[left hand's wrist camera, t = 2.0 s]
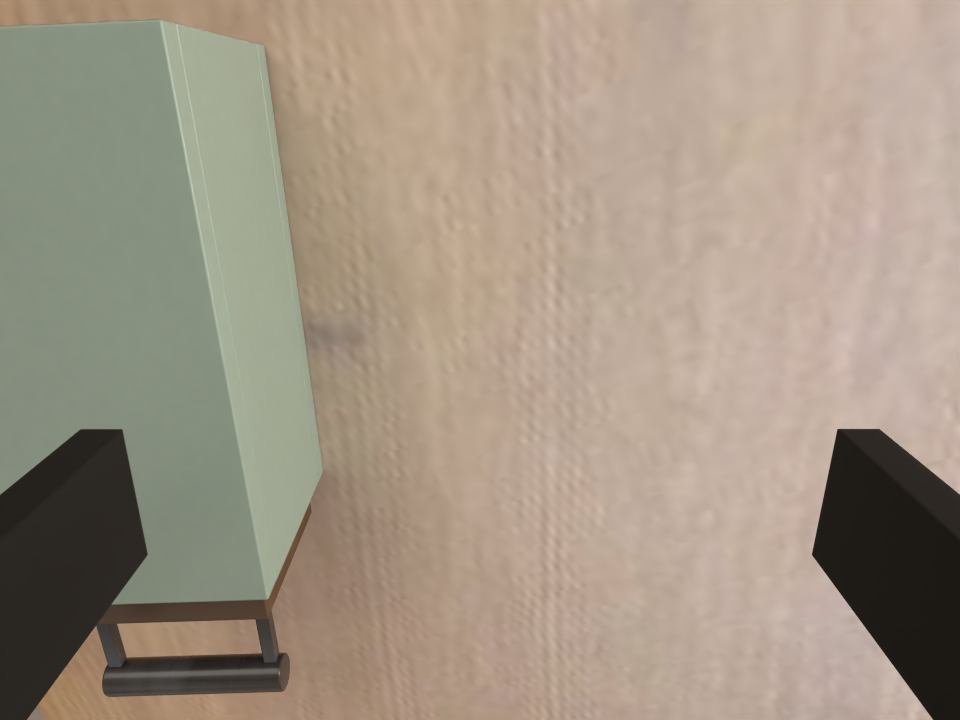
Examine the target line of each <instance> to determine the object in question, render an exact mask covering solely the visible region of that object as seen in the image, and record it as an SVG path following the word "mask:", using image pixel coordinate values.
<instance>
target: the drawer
mask: <svg viewBox="0 0 960 720" xmlns="http://www.w3.org/2000/svg"><path fill="white" fill-rule="evenodd" d="M310 514H311V505H310V503H309V505H308V508H307V510H306V512H305V515H304V517H303V519H302V522H301V524H300V526H299V529H298V531H297V533H296V536H295V538H294V540H293V543H292V545H291V547H290V550H289V552H288V554H287V557H286V559H285V562H284V564H283V566H282V569H281V571H280V573H279V576H278V578H277V580H276V582H275V585H274V587H273V589H272V592H271V594H270V596H269V599H267V600H242V601H211V602H179V603H148V604H117V605H111V606H110V607H109V608H108V610H107V611H106V613H105V614H104V615H103V617H102V618H101V619H100V621H99V622H98V623H97V625H96V626H97V629H98V633H99V636H100V639H101V643H102V646H103V649H104V653H105V656H106V659H107V663H108V665H107V667H106V669H105V671H104V675H103V681H102V687H103V692H104V694H105V695H106V696H108V697H121V696H154V695H188V694H222V693H255V692H282V691H284V690H285V689H286V686H287V684H288V680H289V673H290V661H289V657H288V654H287V653H279V648H278V643H277V638H276V632H275V627H274V621H273V616H272V610H271V609H272V607H273V604H274V602H275V599H276V597H277V595H278V592H279V590H280V587H281V585H282V582H283V580H284V578H285V575H286V573H287V570H288V568H289V565H290V563H291V561H292V558H293V556H294V553H295V551H296V548H297V546H298V544H299V541H300V539H301V536H302V534H303V531H304V529H305V527H306V524H307V522H308V519H309V517H310ZM246 619H256V624H257V629H258V634H259V640H260V645H261V650H262V653H260V654H228V655H195V656H162V657H130V658H126V654H125V650H124V647H123V643H122V640H121V636H120V633H119V629H118V626H117V624H118V623H150V622H182V621H214V620H246Z"/></svg>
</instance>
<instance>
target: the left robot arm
mask: <svg viewBox="0 0 960 720" xmlns="http://www.w3.org/2000/svg"><path fill="white" fill-rule="evenodd" d="M147 555H148V552H147V548H146V543H145V538H144V533H143V528H142V523H141V518H140V513H139V508H138V503H137V498H136V493H135V489H134V484H133V479H132V474H131V469H130V464H129V459H128V454H127V449H126V444H125V439H124V434H123V430H122V429H80V430H79V431H78V432H77V433H75V434H74V435H73V436H72V437H70V438H69V439H68V440H67V441H65V442H64V443H63V444H62V445H61V446H59V447H58V448H57V449H56V450H54V451H53V452H52V453H51V454H50V455H48V456H47V457H46V458H45V459H43V460H42V461H41V462H40V463H39V464H37V465H36V466H35V467H34V468H32V469H31V470H30V471H29V472H27V473H26V474H25V475H24V476H23V477H21V478H20V479H19V480H18V481H16V482H15V483H14V484H13V485H12V486H10V487H9V488H8V489H7V490H5V491H4V492H3V493H2V494H0V720H27V718H28V717H29V716H30V714H31V713H32V712H33V710H34V709H35V708H36V706H37V705H38V704H39V702H40V701H41V700H42V698H43V697H44V695H45V694H46V693H47V691H48V690H49V689H50V687H51V686H52V685H53V683H54V682H55V680H56V679H57V678H58V676H59V675H60V674H61V672H62V671H63V670H64V668H65V667H66V666H67V664H68V663H69V661H70V660H71V659H72V657H73V656H74V655H75V653H76V652H77V651H78V649H79V648H80V647H81V645H82V644H83V642H84V641H85V640H86V638H87V637H88V636H89V634H90V633H91V632H92V630H93V629H94V627H95V626H96V625H97V623H98V622H99V621H100V619H101V618H102V617H103V615H104V614H105V613H106V611H107V610H108V608H109V607H110V606H111V604H112V603H113V602H114V600H115V599H116V598H117V596H118V595H119V593H120V592H121V591H122V589H123V588H124V587H125V585H126V584H127V583H128V581H129V580H130V579H131V577H132V576H133V574H134V573H135V572H136V570H137V569H138V568H139V566H140V565H141V564H142V562H143V561H144V560H145V558H146V557H147ZM812 555H813V557H814V558H815V560H816V561H817V562H818V564H819V565H820V566H821V568H822V569H823V570H824V572H825V573H826V574H827V576H828V577H829V579H830V580H831V581H832V583H833V584H834V585H835V587H836V588H837V589H838V591H839V592H840V594H841V595H842V596H843V598H844V599H845V600H846V602H847V603H848V604H849V606H850V607H851V608H852V610H853V611H854V613H855V614H856V615H857V617H858V618H859V619H860V621H861V622H862V623H863V625H864V626H865V627H866V629H867V630H868V632H869V633H870V634H871V636H872V637H873V638H874V640H875V641H876V642H877V644H878V645H879V647H880V648H881V649H882V651H883V652H884V653H885V655H886V656H887V657H888V659H889V660H890V661H891V663H892V664H893V666H894V667H895V668H896V670H897V671H898V672H899V674H900V675H901V676H902V678H903V679H904V680H905V682H906V683H907V685H908V686H909V687H910V689H911V690H912V691H913V693H914V694H915V695H916V697H917V698H918V700H919V701H920V702H921V704H922V705H923V706H924V708H925V709H926V710H927V712H928V713H929V714H930V716H931V717H932V719H933V720H960V494H958V493H957V492H956V491H955V490H953V489H952V488H951V487H950V486H948V485H947V484H946V483H945V482H944V481H942V480H941V479H940V478H939V477H937V476H936V475H935V474H934V473H933V472H931V471H930V470H929V469H928V468H926V467H925V466H924V465H923V464H921V463H920V462H919V461H918V460H917V459H915V458H914V457H913V456H912V455H910V454H909V453H908V452H907V451H906V450H904V449H903V448H902V447H901V446H899V445H898V444H897V443H896V442H895V441H893V440H892V439H891V438H890V437H888V436H887V435H886V434H885V433H883V432H882V431H881V430H880V429H838V430H837V434H836V439H835V444H834V449H833V454H832V459H831V464H830V469H829V474H828V479H827V484H826V489H825V493H824V498H823V503H822V508H821V513H820V518H819V523H818V528H817V533H816V538H815V543H814V548H813V552H812Z"/></svg>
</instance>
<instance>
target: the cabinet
mask: <svg viewBox="0 0 960 720" xmlns="http://www.w3.org/2000/svg"><path fill="white" fill-rule="evenodd" d="M80 429H122V430H123V434H124V439H125V444H126V449H127V454H128V459H129V464H130V469H131V474H132V479H133V484H134V489H135V493H136V498H137V503H138V508H139V513H140V518H141V523H142V528H143V533H144V538H145V543H146V548H147V552H148V555H147V557H146V558H145V560H144V561H143V562H142V564H141V565H140V566H139V568H138V569H137V570H136V572H135V573H134V574H133V576H132V577H131V579H130V580H129V581H128V583H127V584H126V585H125V587H124V588H123V589H122V591H121V592H120V593H119V595H118V596H117V598H116V599H115V600H114V602H113V603H112V604H111V605H117V604H148V603H179V602H211V601H242V600H267V599H269V596H270V594H271V592H272V589H273V587H274V585H275V582H276V580H277V578H278V576H279V573H280V571H281V569H282V566H283V564H284V562H285V559H286V557H287V554H288V552H289V550H290V547H291V545H292V543H293V540H294V538H295V536H296V533H297V531H298V529H299V526H300V524H301V522H302V519H303V517H304V515H305V512H306V510H307V508H308V505H309V503H310V501H311V498H312V496H313V493H314V491H315V489H316V486H317V484H318V482H319V480H320V478H321V475H322V473H323V468H322V460H321V453H320V446H319V439H318V431H317V424H316V417H315V410H314V403H313V395H312V388H311V381H310V374H309V366H308V359H307V352H306V345H305V338H304V330H303V323H302V316H301V309H300V301H299V294H298V287H297V280H296V272H295V265H294V258H293V251H292V244H291V236H290V229H289V222H288V215H287V207H286V200H285V193H284V186H283V179H282V171H281V164H280V157H279V150H278V142H277V135H276V128H275V121H274V113H273V106H272V99H271V92H270V85H269V77H268V70H267V63H266V56H265V48H264V45H261V44H257V43H253V42H249V41H245V40H241V39H237V38H233V37H229V36H225V35H221V34H217V33H213V32H209V31H205V30H201V29H197V28H193V27H190V26H186V25H182V24H178V23H173V22H169V21H165V20H161V19H149V20H127V21H105V22H82V23H60V24H38V25H16V26H0V494H2V493H3V492H4V491H5V490H7V489H8V488H9V487H10V486H12V485H13V484H14V483H15V482H16V481H18V480H19V479H20V478H21V477H23V476H24V475H25V474H26V473H27V472H29V471H30V470H31V469H32V468H34V467H35V466H36V465H37V464H39V463H40V462H41V461H42V460H43V459H45V458H46V457H47V456H48V455H50V454H51V453H52V452H53V451H54V450H56V449H57V448H58V447H59V446H61V445H62V444H63V443H64V442H65V441H67V440H68V439H69V438H70V437H72V436H73V435H74V434H75V433H77V432H78V431H79V430H80Z"/></svg>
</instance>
